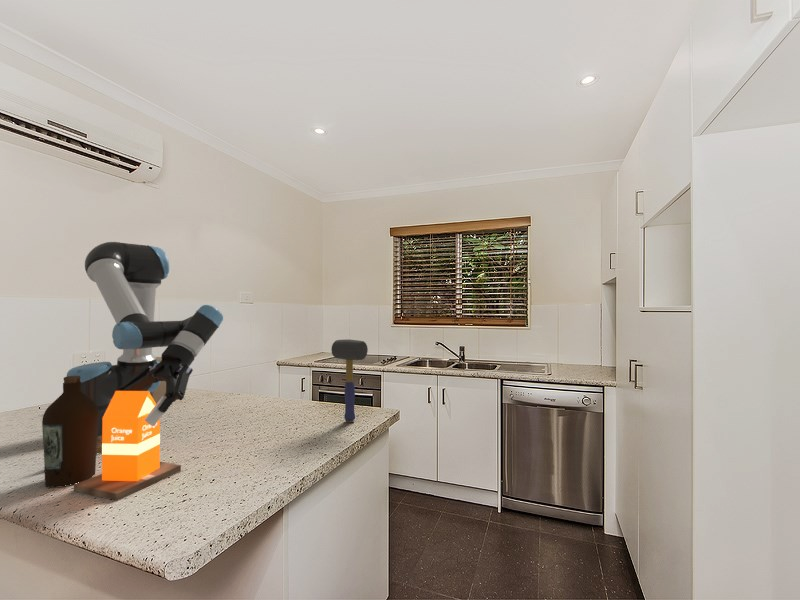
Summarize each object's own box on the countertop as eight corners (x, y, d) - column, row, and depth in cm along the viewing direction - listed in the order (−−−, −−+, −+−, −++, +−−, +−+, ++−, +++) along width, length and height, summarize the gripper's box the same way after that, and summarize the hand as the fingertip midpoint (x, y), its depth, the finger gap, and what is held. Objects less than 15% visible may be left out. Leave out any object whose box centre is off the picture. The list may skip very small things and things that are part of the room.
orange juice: (126, 466, 97) (127, 387, 98) (160, 467, 97) (160, 387, 97) (100, 480, 90) (101, 394, 90) (137, 481, 89) (137, 394, 89)
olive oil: (81, 467, 101) (82, 372, 102) (108, 473, 97) (109, 374, 98) (31, 484, 91) (32, 379, 92) (58, 492, 87) (59, 381, 88)
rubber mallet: (329, 421, 140) (329, 339, 141) (342, 416, 147) (342, 338, 147) (357, 427, 134) (356, 340, 135) (369, 421, 140) (369, 339, 141)
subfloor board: (73, 491, 88) (73, 484, 88) (141, 464, 103) (141, 458, 103) (116, 500, 83) (116, 493, 83) (180, 471, 98) (180, 464, 98)
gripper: (225, 361, 105) (177, 433, 91) (158, 357, 114) (104, 423, 99) (209, 343, 100) (156, 417, 86) (141, 341, 109) (81, 408, 94)
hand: (128, 420), depth 93 cm, fingers open, 13 cm apart
